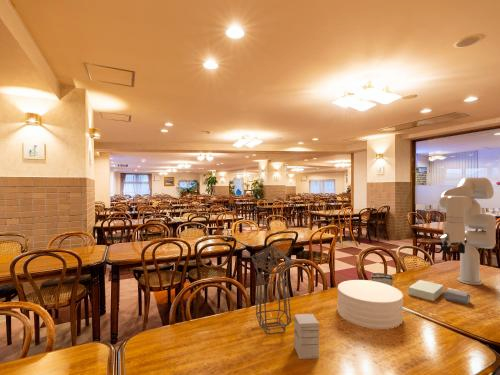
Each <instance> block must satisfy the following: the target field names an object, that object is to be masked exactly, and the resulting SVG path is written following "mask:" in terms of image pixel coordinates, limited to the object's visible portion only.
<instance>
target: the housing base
mask: <svg viewBox="0 0 500 375" xmlns="http://www.w3.org/2000/svg"><path fill="white" fill-rule="evenodd" d="M443 293H444V298H443V299H444V300H447V301H451V302H456V303H459V304H462V305H467V306H468V305H469V304H470V302H471V295H470V294H468V296H467V297H465V296H461V295H457V294H453V293H449V292H447V289H446V290H445V291H443Z"/></svg>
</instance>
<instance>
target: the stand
mask: <svg viewBox="0 0 500 375" xmlns="http://www.w3.org/2000/svg"><path fill="white" fill-rule="evenodd" d="M443 293H444V284H440V283H435V282H432V281H428V280H422V279H419V280H417V281H416V282H415V283H413V284H410V286H409V287H408V295H409V296H414V297H417V298H419V299H420V298H421V299H423V300H429V301H432V302H434V301H435V300H437V299H438V298H439V297H440V296H441V295H442V294H443Z"/></svg>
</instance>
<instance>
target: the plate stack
mask: <svg viewBox="0 0 500 375" xmlns="http://www.w3.org/2000/svg"><path fill="white" fill-rule="evenodd" d="M403 306H404V295H403V292H402V291H401V290H400V289H399V288H396V287H394V286H393V285H392V286H390V285H387V284H384V283H380V282H375V281H372V280H367V279H348V280H344V281H342V282H340V283H339V284H338V285H337V313H338V315H340V317H341V318H342V319H344V320H345V321H347V322H348V323H352V324H354V325H357V326H360V327H364V328H367V329H368V328H369V329H373V330H388V329H389V328H391V329H395V328H398V327H400V326H401V325H402V324H403V320H404V319H403V318H404V317H403V316H404V315H403V310H404V307H403ZM400 324H401V325H400ZM399 325H400V326H399ZM397 326H398V327H397ZM394 327H395V328H394ZM389 330H390V329H389Z"/></svg>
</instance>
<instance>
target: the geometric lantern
mask: <svg viewBox="0 0 500 375" xmlns="http://www.w3.org/2000/svg"><path fill="white" fill-rule="evenodd" d="M275 252H276V253H275ZM269 254H270V255H269ZM279 257H282V258H283V259H284V261H285V262H284V264H283V263H282V264H279V262H278V260H277V259H278V258H279ZM250 258H251V261H252V264H253V265H254V266H253V267H254V269H255V270H256V273H257V275H256V276H257V277H256V278H257V279H256V301H255V302H256V303H255V304H256V306H255V316H256V318H257V319H256V320H257V321H258V324H259V326H260V327H261V328H263V330H264V332H265V334H267V335H274V334H282V333H286V330H287V329H286V327H287V326H290V324H291V323H292V316H291V314H292V313H291V304H290V292H289V291H290V290H289V280H288V278H289V271H287V274H286V275H287V276H285V275H284V273H285V270H286V268H287V269H289V268H290V267H291V266H292V265H293V264H295V261H294V260H292V259H291V258H290V257H288V256H287V255H286V254H285V253H284V252H282V251H281V250H279V249H278V248H276V247H275V246H274V245H273V246H272V245H271V246H268V247H266V248H264V249H261V250H260V251H258V252H257V253H255V254H253V255H251V256H250ZM267 258H268V259H269V258H270V260H269V261H267ZM261 262H262V263H261ZM274 262H275V264H274ZM258 267H260V268H261V271H260V272H259V270H258V269H259V268H258ZM265 267H270V270H269V269H267V268H265ZM279 267H282V268H281V269H279ZM272 268H275V269H276V271H272ZM264 270H265V271H266V272H268V273H263V272H264ZM281 271H282V272H281ZM273 274H278V281H272V282H267V281H268V279H269V278H270V277H271V275H273ZM263 275H269V276H267V278H266V280H265V281H263V282H262V276H263ZM268 284H278V309H272V310H271V309H270V310H267V304H266V285H268ZM281 284H282V298H283V309H284V310H283V309H281ZM262 288H263V290H262ZM262 292H263V293H262ZM262 294H263V296H262ZM262 297H263V298H264V299H263V298H262ZM262 299H263V300H264V302H263V303H264V304H263V305H264V310H262ZM258 303H259V304H258ZM287 304H288V306H287ZM258 305H259V307H258ZM258 308H259V309H258ZM258 310H259V311H258ZM269 312H270V313H271V312H278V313H277V317H272V318H267V313H269ZM280 312H283V313H281V316H280ZM288 312H289V314H288ZM262 313H264V317H263V316H262ZM284 314H285V317H286V323H285V322H283V321H282V317H283V315H284ZM279 316H280V317H279ZM269 320H276V321H275V322H267V321H269ZM264 322H265V323H264ZM270 324H271V325H270ZM272 324H273V325H272ZM271 327H272V328H271ZM277 329H283V331H276V332H270V330H271V331H272V330H277Z"/></svg>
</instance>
